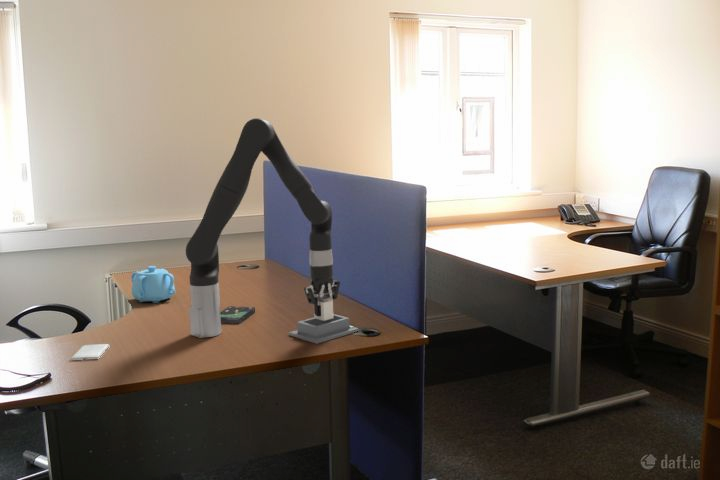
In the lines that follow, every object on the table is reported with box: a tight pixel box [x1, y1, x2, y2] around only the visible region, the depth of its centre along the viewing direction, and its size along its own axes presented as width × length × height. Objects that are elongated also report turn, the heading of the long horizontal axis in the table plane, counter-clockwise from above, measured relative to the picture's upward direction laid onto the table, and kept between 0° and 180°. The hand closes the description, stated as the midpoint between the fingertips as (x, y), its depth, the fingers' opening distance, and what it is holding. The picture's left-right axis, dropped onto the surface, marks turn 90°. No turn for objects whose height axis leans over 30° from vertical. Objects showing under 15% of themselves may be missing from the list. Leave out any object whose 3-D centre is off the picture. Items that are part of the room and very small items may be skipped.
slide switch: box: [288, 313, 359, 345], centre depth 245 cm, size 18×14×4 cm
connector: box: [313, 295, 334, 321], centre depth 244 cm, size 4×5×7 cm
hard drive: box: [70, 343, 110, 361], centre depth 231 cm, size 2×8×12 cm
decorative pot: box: [131, 265, 177, 304], centre depth 297 cm, size 16×16×14 cm
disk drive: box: [220, 305, 256, 325], centre depth 268 cm, size 10×3×15 cm
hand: (323, 314), depth 244 cm, fingers closed on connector, 4 cm apart
